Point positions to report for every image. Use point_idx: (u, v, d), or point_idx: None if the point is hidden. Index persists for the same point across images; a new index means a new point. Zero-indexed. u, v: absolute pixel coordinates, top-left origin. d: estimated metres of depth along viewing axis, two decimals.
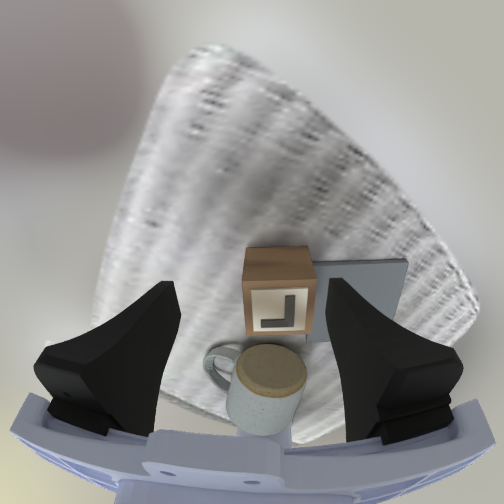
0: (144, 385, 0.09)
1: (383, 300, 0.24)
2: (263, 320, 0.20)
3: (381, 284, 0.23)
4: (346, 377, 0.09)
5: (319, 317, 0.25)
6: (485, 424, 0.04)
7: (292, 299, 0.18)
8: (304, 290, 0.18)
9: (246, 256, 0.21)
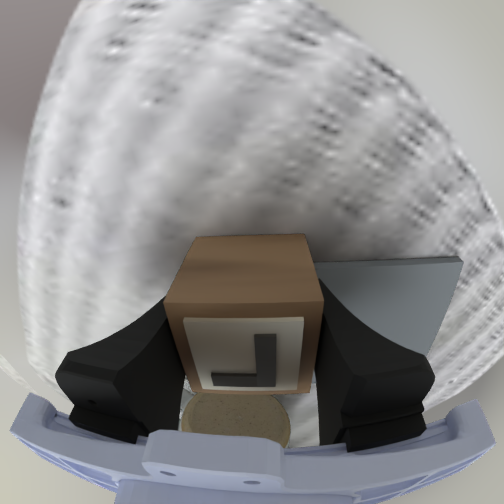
0: (170, 388, 0.09)
1: (422, 322, 0.14)
2: (215, 374, 0.10)
3: (422, 297, 0.13)
4: (319, 380, 0.09)
5: None
6: (485, 425, 0.04)
7: (269, 341, 0.09)
8: (296, 324, 0.08)
9: (190, 252, 0.11)
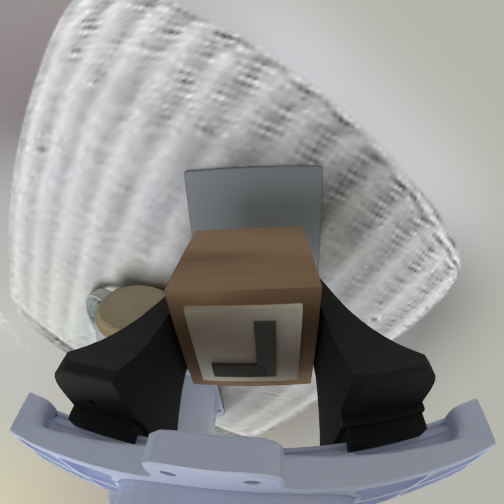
0: (169, 388, 0.09)
1: None
2: (216, 364, 0.10)
3: (285, 200, 0.18)
4: (320, 380, 0.09)
5: None
6: (485, 425, 0.04)
7: (268, 328, 0.09)
8: (295, 311, 0.09)
9: (190, 244, 0.12)
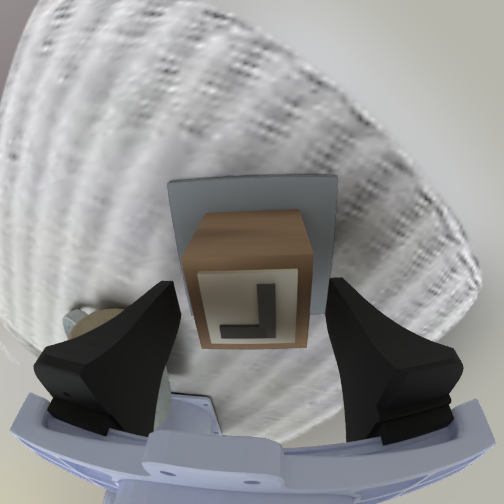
0: (144, 385, 0.09)
1: None
2: (224, 326, 0.12)
3: None
4: (346, 377, 0.09)
5: None
6: (485, 424, 0.04)
7: (269, 290, 0.11)
8: (291, 274, 0.10)
9: (201, 224, 0.13)
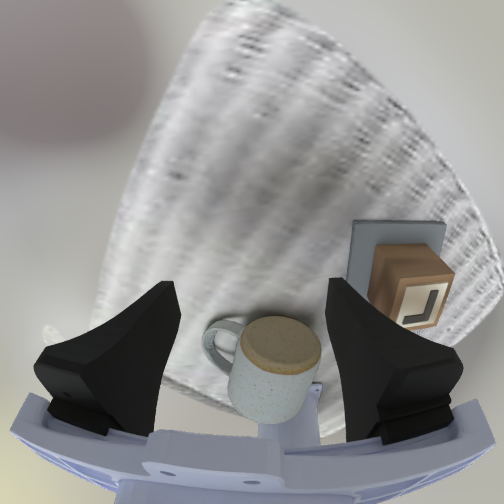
0: (144, 385, 0.09)
1: None
2: (406, 316, 0.17)
3: None
4: (346, 377, 0.09)
5: (358, 285, 0.23)
6: (485, 424, 0.04)
7: (435, 293, 0.16)
8: (445, 284, 0.16)
9: (383, 254, 0.19)
